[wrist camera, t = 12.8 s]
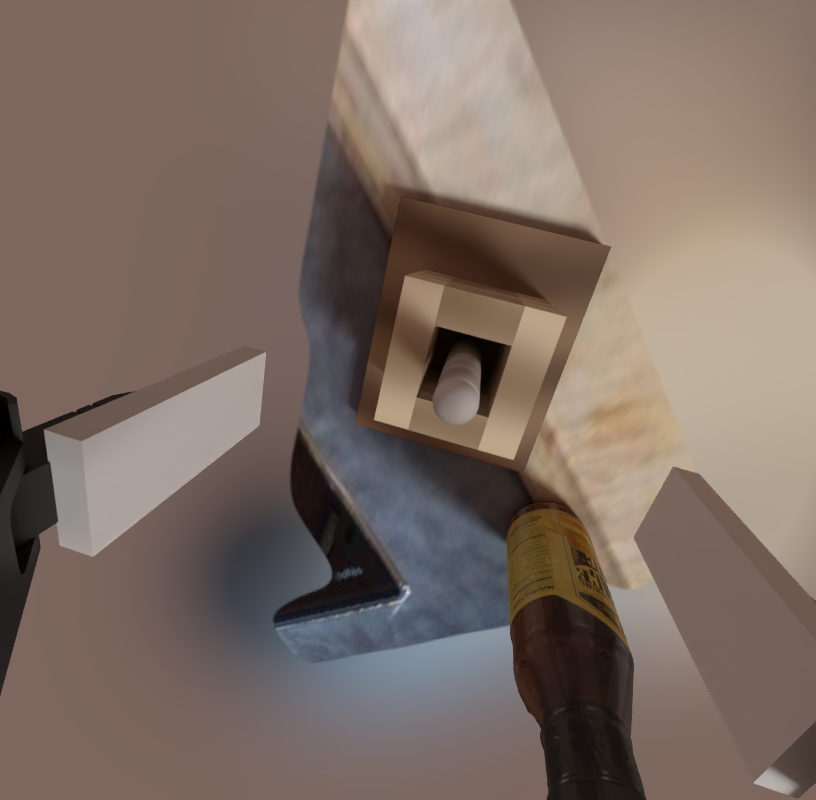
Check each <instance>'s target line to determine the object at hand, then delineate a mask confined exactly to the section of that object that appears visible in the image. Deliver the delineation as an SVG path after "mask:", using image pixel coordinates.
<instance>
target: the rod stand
mask: <svg viewBox="0 0 816 800" xmlns="http://www.w3.org/2000/svg"><path fill="white" fill-rule="evenodd" d="M610 248H611V247H610V246H606V245H602V244H598V243H594V242H590V241H585V240H581V239H577V238H573V237H569V236H565V235H560V234H556V233H552V232H548V231H544V230H540V229H535V228H531V227H527V226H523V225H519V224H515V223H510V222H506V221H502V220H498V219H494V218H490V217H485V216H481V215H477V214H473V213H469V212H465V211H460V210H456V209H452V208H448V207H444V206H440V205H435V204H431V203H427V202H423V201H419V200H414V199H410V198H406V197H402V196H401V197H400V202H399V207H398V212H397V218H396V223H395V228H394V233H393V238H392V243H391V248H390V253H389V258H388V263H387V268H386V273H385V278H384V283H383V288H382V293H381V298H380V303H379V308H378V313H377V318H376V323H375V328H374V333H373V338H372V343H371V348H370V353H369V358H368V363H367V368H366V373H365V378H364V383H363V388H362V393H361V398H360V403H359V408H358V413H357V418H356V423H355V424H357V425H360V426H364V427H367V428H371V429H374V430H377V431H381V432H384V433H388V434H391V435H395V436H398V437H401V438H405V439H408V440H412V441H415V442H419V443H422V444H425V445H429V446H432V447H436V448H439V449H443V450H446V451H449V452H453V453H456V454H460V455H463V456H466V457H470V458H473V459H477V460H480V461H484V462H487V463H490V464H494V465H497V466H501V467H504V468H508V469H511V470H514V471H518V472H521V473H523V472H524V469H525V467H526V464H527V461H528V459H529V456H530V454H531V451H532V449H533V446H534V444H535V441H536V438H537V436H538V433H539V431H540V428H541V426H542V423H543V420H544V418H545V415H546V413H547V410H548V408H549V405H550V402H551V400H552V397H553V395H554V392H555V390H556V387H557V384H558V382H559V379H560V377H561V374H562V372H563V369H564V367H565V364H566V361H567V359H568V356H569V354H570V351H571V349H572V346H573V343H574V341H575V338H576V336H577V333H578V331H579V328H580V325H581V323H582V320H583V318H584V315H585V313H586V310H587V307H588V305H589V302H590V300H591V297H592V295H593V292H594V290H595V287H596V284H597V282H598V279H599V277H600V274H601V272H602V269H603V266H604V264H605V261H606V259H607V256H608V254H609V251H610ZM422 270H429V271H433V272H437V273H441V274H445V275H449V276H453V277H457V278H461V279H465V280H469V281H473V282H476V283H480V284H484V285H488V286H492V287H496V288H500V289H504V290H508V291H512V292H516V293H520V294H524V295H528V296H532V297H536V298H540V299H544V300H547V301H548V302H550V303H551V304H552V305H553V306H554V307H556V308H557V309H558V310H559V311H560V312H562V313H563V314H564V315H565V316H566V317H567V318H566V321H565V323H564V326H563V329H562V331H561V334H560V337H559V339H558V342H557V345H556V347H555V350H554V353H553V356H552V358H551V361H550V364H549V366H548V369H547V372H546V374H545V377H544V380H543V382H542V385H541V388H540V390H539V393H538V396H537V399H536V401H535V404H534V407H533V409H532V412H531V415H530V417H529V420H528V423H527V425H526V428H525V431H524V433H523V436H522V439H521V442H520V444H519V447H518V450H517V452H516V455H515V458H514V460H511V459H508V458H504V457H501V456H497V455H494V454H491V453H487V452H484V451H480V450H477V449H473V448H470V447H466V446H463V445H459V444H456V443H452V442H449V441H445V440H442V439H438V438H435V437H431V436H428V435H425V434H421V433H418V432H414V431H411V430H407V429H404V428H400V427H397V426H393V425H390V424H386V423H383V422H379V421H376V420H374V418H375V413H376V408H377V404H378V399H379V394H380V390H381V385H382V380H383V376H384V371H385V366H386V362H387V357H388V353H389V348H390V343H391V339H392V334H393V329H394V325H395V320H396V315H397V311H398V306H399V301H400V297H401V292H402V287H403V283H404V278H405V276H406V275H409V274H412V273H415V272H418V271H422ZM499 344H500V343H499V342H495V341H491V340H487V339H483V338H480V337H476V336H472V335H468V334H464V333H461V332H457V331H453V330H449V329H446V328H441V332H440V336H439V340H438V344H437V348H436V352H435V355H434V359H433V363H432V364H433V365H437V366H441V367H444V368H443V371H442V373H441V376H440V379H439V381H438V384H437V387H436V390H435V392H434V395H433V408H434V411H435V413H436V415H437V416H438V417H439V418H440V419H441V420H442V421H443V422H445V423H447V424H451V425H461V424H464V423H467V422H468V421H470V420H471V419H472V418H473V417H474V416H475V415H476V413H477V411H478V408H479V400H480V380H481V378H485V379H489V375H490V372H491V369H492V366H493V363H494V360H495V357H496V353H497V350H498V347H499Z"/></svg>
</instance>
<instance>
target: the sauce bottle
mask: <svg viewBox="0 0 816 800" xmlns="http://www.w3.org/2000/svg"><path fill="white" fill-rule="evenodd" d="M507 567H508V593H509V616H510V636H511V640H512V644H513V664H514V668H513V669H514V675H515V681H516V684H517V687H518V692H519V693H520V696H521V698H522V700H523V702H524V704H525V706H526V708H527V711H528V712H529V713H531V714H532V715H533V716H534V717H535V719H536V721H537V722H538V724H539V725H540V728H541V732H540V739H541V744H542V747H543V749H544V754H545V763H546V772H547V780H548V781H547V785H548V796H547V800H646V798H645V794H644V789H643V785H642V781H641V778H640V775H639V772H638V769H637V765H636V762H635V758H634V755H633V747H632V740H631V722H632V697H633V673H634V663H633V657H632V654H631V652H630V649H629V646H628V643H627V640H626V637H625V634H624V632H623V629H622V626H621V623H620V620H619V617H618V614H617V612H616V609H615V606H614V603H613V600H612V597H611V594H610V592H609V590H608V586H607V583H606V580H605V578H604V575H603V572H602V569H601V567H600V564H599V561H598V558H597V555H596V553H595V550H594V547H593V544H592V541H591V538H590V536H589V533H588V531H587V529H586V528H585V526H584V525H583V523H582V522H581V521H580V519H579V518H578V517H577V516H576V515H575V514H574V513H573V512H572V511H571V510H569V509H568V508H567V507H565V506H563V505H560V504H557V503H547V502H538V503H533V504H530V505H528V506H526V507H524V508H522V509H521V510H520V511H518V512H517V513H516V514H515V515H514V516H513V517H512V518H511V520H510V522H509V528H508V535H507Z"/></svg>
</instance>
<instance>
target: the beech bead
mask: <svg viewBox="0 0 816 800" xmlns="http://www.w3.org/2000/svg"><path fill="white" fill-rule="evenodd" d="M566 318H567V317H566V316H565V315H564V314H563V313H562V312H560V311H559V310H558V309H557V308H556V307H554V306H553V305H552V304H551V303H550V302H548V301H547V300H544V299H540V298H536V297H532V296H528V295H524V294H520V293H516V292H512V291H508V290H504V289H500V288H496V287H492V286H488V285H484V284H480V283H476V282H473V281H469V280H465V279H461V278H457V277H453V276H449V275H445V274H441V273H437V272H433V271H429V270H422V271H418V272H415V273H412V274H409V275H406V276H405V278H404V283H403V287H402V292H401V297H400V301H399V306H398V311H397V315H396V320H395V325H394V329H393V334H392V339H391V343H390V348H389V353H388V357H387V362H386V366H385V371H384V376H383V380H382V385H381V390H380V394H379V399H378V404H377V408H376V413H375V418H374V420H376V421H379V422H383V423H386V424H390V425H393V426H397V427H400V428H404V429H407V430H411V431H414V432H418V433H421V434H425V435H428V436H431V437H435V438H438V439H442V440H445V441H449V442H452V443H456V444H459V445H463V446H466V447H470V448H473V449H477V450H480V451H484V452H487V453H491V454H494V455H497V456H501V457H504V458H508V459H511V460H514V458H515V455H516V452H517V450H518V447H519V444H520V442H521V439H522V436H523V433H524V431H525V428H526V425H527V423H528V420H529V417H530V415H531V412H532V409H533V407H534V404H535V401H536V399H537V396H538V393H539V390H540V388H541V385H542V382H543V380H544V377H545V374H546V372H547V369H548V366H549V364H550V361H551V358H552V356H553V353H554V350H555V347H556V345H557V342H558V339H559V337H560V334H561V331H562V329H563V326H564V323H565V321H566ZM441 328H446V329H449V330H453V331H457V332H461V333H464V334H468V335H472V336H476V337H480V338H483V339H487V340H491V341H495V342H499V343H500V344H499V347H498V350H497V353H496V357H495V360H494V363H493V366H492V369H491V372H490V375H489V379H485V378H481V380H480V400H479V408H478V411H477V413H476V415H475V416H474V417H473V418H472V419H471V420H470V421H468V422H467V423H464V424H461V425H451V424H447V423H445V422H443V421H442V420H441V419H440V418H439V417H438V416H437V415H436V413H435V411H434V408H433V395H434V392H435V390H436V387H437V384H438V381H439V379H440V376H441V373H442V371H443V368H444V367H441V366H437V365H433V364H432V363H433V359H434V355H435V352H436V348H437V344H438V340H439V336H440V332H441Z"/></svg>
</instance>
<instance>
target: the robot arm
mask: <svg viewBox="0 0 816 800" xmlns="http://www.w3.org/2000/svg"><path fill="white" fill-rule="evenodd" d="M265 359H266V352H265V351H261V350H258V349H255V348H251V347H248V346H243V347H240V348H238V349H235V350H233V351H230V352H228V353H226V354H223V355H221V356H218V357H216V358H214V359H211V360H209V361H207V362H205V363H202V364H199V365H197V366H195V367H192V368H190V369H187V370H185V371H183V372H180V373H178V374H175V375H173V376H171V377H168V378H166V379H164V380H161V381H159V382H156V383H154V384H152V385H149V386H147V387H144V388H142V389H140V390H138V391H133V392H128V393H123V394H117V395H112V396H110V397H107V398H105V399H103V400H100V401H97V402H95V403H93V405H92V406H91V405H87V406H85V407H83V408H80V409H78V410H77V411H76V412H70V413H68V414H65V415H63V416H60V417H58V418H55V419H53V420H50V421H48V422H46V423H43V424H41V425H38V426H35V427H33V428H31V429H28V430H26V431H23V432H22V429H21V423H20V417H19V410H18V404H17V398H16V397H14V396H13V395H11V394H10V393H7V392H3V391H0V694H1V691H2V687H3V683H4V680H5V676H6V672H7V668H8V665H9V661H10V658H11V654H12V650H13V647H14V643H15V639H16V636H17V632H18V629H19V625H20V621H21V617H22V614H23V610H24V606H25V603H26V599H27V596H28V592H29V588H30V585H31V581H32V577H33V573H34V570H35V566H36V562H37V559H38V555H39V552H40V539H39V534H40V533H42V532H43V531H45V530H46V529H48V528H49V527H51V526H52V525H54V524H56V523H57V529H58V536H59V543H60V546H63V547H66V548H69V549H72V550H75V551H77V552H81V553H83V554H86V555H89V556H92V557H93V556H94V555H96V554H97V553H98V552H100V551H101V550H102V549H103V548H105V547H106V546H107V545H108V544H110V543H111V542H112V541H113V540H115V539H116V538H117V537H119V536H120V535H121V534H122V533H124V532H125V531H126V530H127V529H129V528H130V527H131V526H132V525H134V524H135V523H136V522H138V521H139V520H140V519H141V518H143V517H144V516H145V515H146V514H148V513H149V512H150V511H151V510H153V509H154V508H155V507H157V506H158V505H159V504H160V503H162V502H163V501H164V500H165V499H167V498H168V497H169V496H170V495H172V494H173V493H174V492H175V491H177V490H178V489H179V488H181V487H182V486H183V485H184V484H186V483H187V482H188V481H189V480H191V479H192V478H193V477H195V476H196V475H197V474H198V473H200V472H201V471H202V470H203V469H204V468H206V467H207V466H208V465H210V464H211V463H212V462H213V461H215V460H216V459H217V458H219V457H220V456H221V455H222V454H224V453H225V452H226V451H227V450H229V449H230V448H231V447H232V446H234V445H235V444H236V443H238V442H239V441H240V440H241V439H242V438H244V437H245V436H246V435H248V434H249V433H250V432H251V431H253V430H254V429H255V428H257V427H258V426H259V424H260V413H261V402H262V391H263V381H264V380H263V379H264V369H265ZM634 539H635V541H636V543H637V545H638V548H639V550H640V552H641V554H642V556H643V558H644V560H645V562H646V564H647V566H648V568H649V570H650V572H651V574H652V576H653V578H654V580H655V582H656V584H657V587H658V588H659V591H660V593H661V595H662V597H663V599H664V601H665V603H666V605H667V607H668V609H669V611H670V613H671V615H672V617H673V619H674V621H675V623H676V625H677V628H678V630H679V632H680V634H681V636H682V638H683V640H684V642H685V644H686V646H687V648H688V650H689V652H690V654H691V656H692V658H693V660H694V663H695V664H696V666H697V669H698V671H699V673H700V675H701V677H702V679H703V681H704V683H705V685H706V687H707V689H708V691H709V693H710V695H711V697H712V699H713V701H714V703H715V706H716V708H717V710H718V712H719V714H720V716H721V718H722V720H723V722H724V724H725V726H726V728H727V730H728V732H729V734H730V736H731V739H732V740H733V743H734V745H735V746H736V749H737V751H738V753H739V755H740V757H741V759H742V761H743V763H744V765H745V767H746V769H747V771H748V773H749V775H750V778H751V780H752V782H753V783H754V784H757V785H761V786H763V787H766V788H769V789H772V790H775V791H778V792H781V793H784V794H787V795H789V796H792V797H796V798H799V797H800V796H801V795H803V794H804V793H805V792H806V791H807V790H808V789H809V788H810V787H811V786H813V785H814V784H815V783H816V601H815V600H814V599H813V598H811V597H810V596H809V595H808V594H807V592H805V590H804V589H803V588H802V587H801V586H800V585H799V584H798V583H797V581H796V580H795V579H794V578H793V577H792V576H791V575H790V574H789V573H788V571H787V570H786V569H785V568H784V567H783V566H782V565H781V564H780V563H779V562H778V560H777V559H776V558H775V557H774V556H773V555H772V554H771V553H770V552H769V551H768V549H767V548H766V547H765V546H764V545H763V544H762V543H761V542H760V541H759V539H757V537H756V536H755V535H754V534H753V533H752V532H751V531H750V530H749V528H748V527H747V526H746V525H745V524H744V523H743V522H742V521H741V520H740V518H739V517H738V516H737V515H736V514H735V513H734V512H733V511H732V510H731V509H730V507H729V506H728V505H727V504H726V503H725V502H724V501H723V500H722V499H721V497H720V496H719V495H718V494H717V493H716V492H715V491H714V490H713V489H712V487H710V485H709V484H708V483H707V482H706V481H705V480H704V479H703V478H702V477H701V475H700V474H697V473H694V472H690V471H687V470H683V469H680V468H676V467H673V468H672V470H671V471H670V473H669V475H668V477H667V479H666V480H665V482H664V484H663V486H662V488H661V489H660V491H659V493H658V495H657V496H656V498H655V500H654V502H653V504H652V505H651V507H650V509H649V511H648V513H647V514H646V516H645V518H644V520H643V521H642V523H641V525H640V527H639V529H638V530H637V532H636V534H635V536H634Z"/></svg>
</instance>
